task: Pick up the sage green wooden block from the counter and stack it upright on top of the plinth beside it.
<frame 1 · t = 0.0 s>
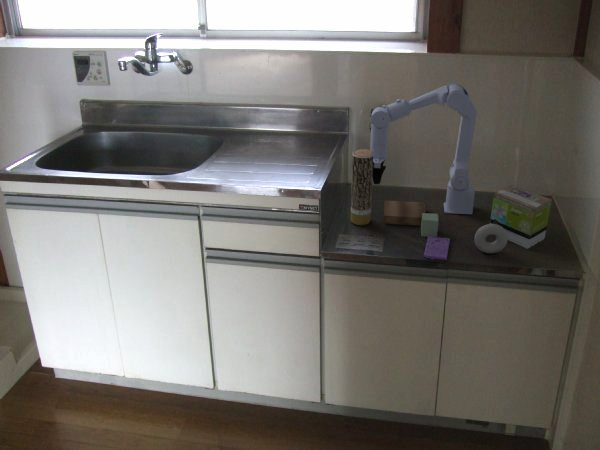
hand: (377, 179, 225), 10 cm above the counter, tool pointing down, fingers open, 7 cm apart
tea box: (516, 236, 209), on the counter
paper tube: (360, 222, 219), on the counter
plinth: (404, 216, 222), on the counter
sponges: (436, 251, 202), on the counter
donut: (488, 253, 199), on the counter
block: (428, 233, 211), on the counter
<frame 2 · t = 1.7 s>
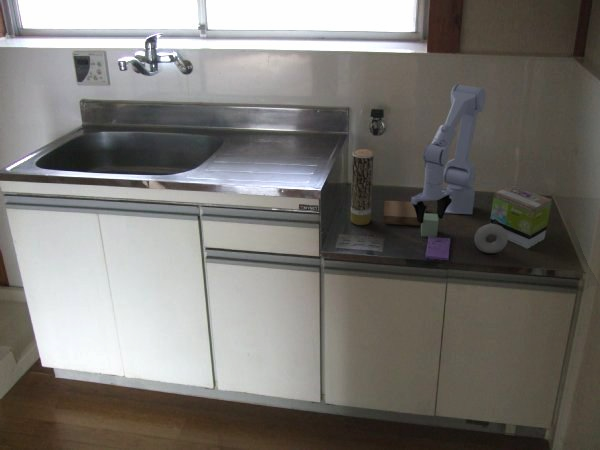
hand: (429, 219, 209), 5 cm above the counter, tool pointing down, fingers open, 7 cm apart
block: (428, 233, 211), on the counter, touching gripper
everything else where it was.
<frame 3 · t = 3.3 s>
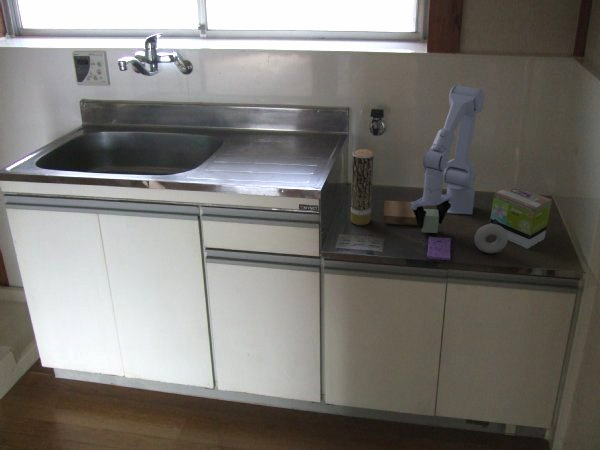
hand: (429, 224, 210), 3 cm above the counter, tool pointing down, fingers closed on block, 7 cm apart
block: (429, 229, 211), point 1 cm above the counter, touching gripper
everything else where it was.
when the fingers open (9 cm above the counter, at t = 4.6 s): block drops 4 cm, resting on plinth.
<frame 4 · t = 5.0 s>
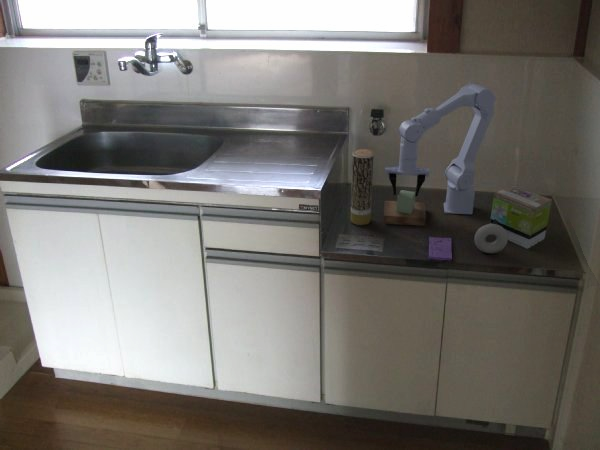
hand: (405, 194, 218), 8 cm above the counter, tool pointing down, fingers open, 7 cm apart
block: (405, 209, 220), point 3 cm above the counter, touching gripper, plinth
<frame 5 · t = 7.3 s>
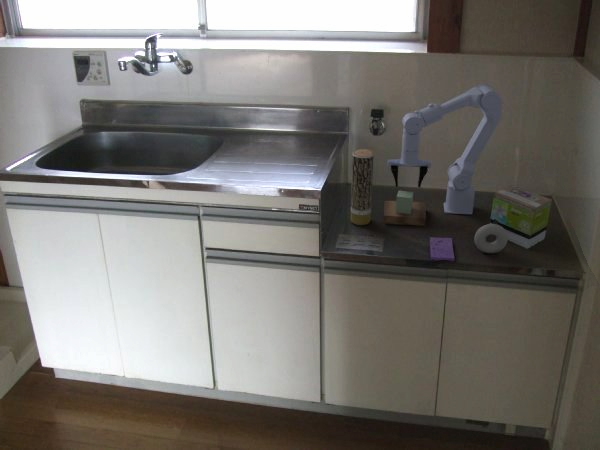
hand: (407, 186, 222), 9 cm above the counter, tool pointing down, fingers open, 7 cm apart
block: (403, 210, 220), point 3 cm above the counter, touching plinth
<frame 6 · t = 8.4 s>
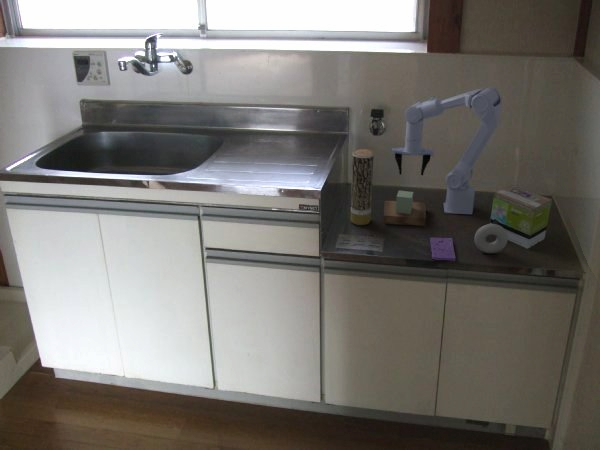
hand: (411, 173, 231), 9 cm above the counter, tool pointing down, fingers open, 7 cm apart
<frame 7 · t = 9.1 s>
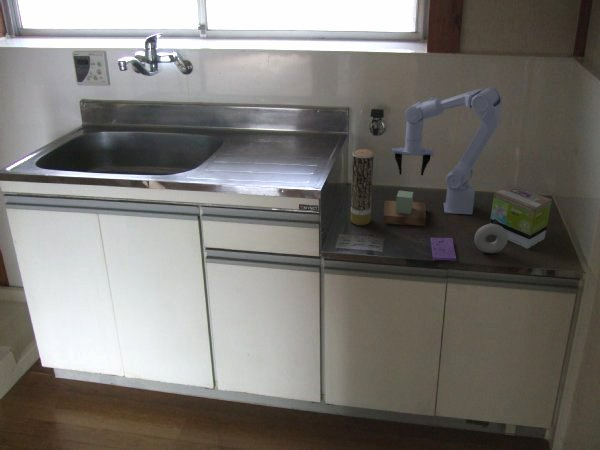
hand: (411, 173, 231), 9 cm above the counter, tool pointing down, fingers open, 7 cm apart
at the end: block inside the target area on the plinth (1.0 cm from its centre), point 3.0 cm above the plinth's base; block tilted 0°; the gripper is holding nothing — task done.
